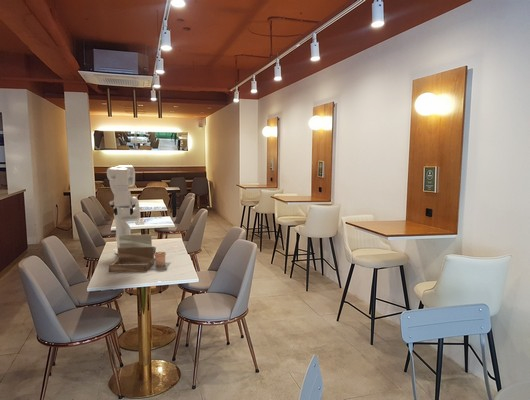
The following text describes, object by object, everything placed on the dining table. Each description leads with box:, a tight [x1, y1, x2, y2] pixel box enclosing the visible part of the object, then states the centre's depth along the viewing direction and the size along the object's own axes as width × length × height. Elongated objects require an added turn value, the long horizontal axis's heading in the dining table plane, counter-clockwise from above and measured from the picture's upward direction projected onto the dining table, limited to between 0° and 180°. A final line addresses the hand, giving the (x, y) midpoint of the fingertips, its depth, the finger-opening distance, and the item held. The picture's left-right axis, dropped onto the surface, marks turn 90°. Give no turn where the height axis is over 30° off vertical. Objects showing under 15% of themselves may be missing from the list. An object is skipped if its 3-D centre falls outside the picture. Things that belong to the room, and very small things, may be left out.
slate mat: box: [148, 262, 172, 271], centre depth 243 cm, size 14×10×1 cm
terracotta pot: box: [154, 251, 167, 267], centre depth 242 cm, size 7×7×8 cm
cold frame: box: [107, 234, 155, 273], centre depth 241 cm, size 19×22×18 cm
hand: (123, 214), depth 252 cm, fingers open, 9 cm apart
